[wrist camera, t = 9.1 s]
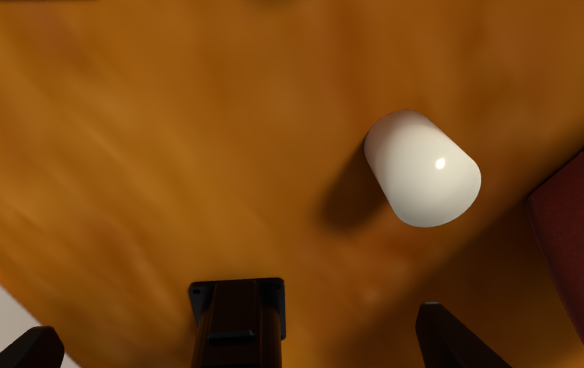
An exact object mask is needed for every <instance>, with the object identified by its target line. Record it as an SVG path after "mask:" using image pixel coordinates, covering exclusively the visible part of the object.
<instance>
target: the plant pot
mask: <svg viewBox="0 0 584 368" xmlns="http://www.w3.org/2000/svg"><path fill="white" fill-rule="evenodd" d="M525 205H526V211H527V215H528V218H529V222H530V225H531V228H532V230H533V233H534V236H535V239H536V241H537V244H538V247H539V250H540V252H541V254H542V257H543V259H544V262H545V264H546V267H547V269H548V271H549V274H550V276H551V279H552V281H553V283H554V285H555V287H556V290H557V292H558V294H559V296H560V298H561V301H562V303H563V305H564V307H565V309H566V311H567V313H568V315H569V317H570V319H571V321H572V323H573V325H574V327H575V329H576V331H577V333H578V335H579V337H580V339H581V341H582V342H583V344H584V151H583V152H581V153H580V154H579V155H578V156H577V157H575V158H574V159H573V160H572V161H571V162H569V163H568V164H567V165H566V166H565V167H563V168H562V169H561V170H560V171H558V172H557V173H556V174H555V175H554V176H552V177H551V178H550V179H549V180H548V181H546V182H545V183H544V184H543V185H542V186H540V187H539V188H538V189H537V190H536V191H534V192H533V193H532V194H531V195H530V196H529V198H528V200H527V202H526V204H525Z"/></svg>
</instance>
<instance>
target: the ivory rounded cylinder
mask: <svg viewBox="0 0 584 368" xmlns="http://www.w3.org/2000/svg"><path fill="white" fill-rule="evenodd" d="M364 153H365V157H366V159H367V161H368V163H369V165H370V167H371V169H372V171H373V173H374V175H375V177H376V179H377V180H378V182H379V184H380V186H381V188H382V190H383V192H384V194H385V196H386V198H387V199H388V201H389V203H390V205H391V207H392V209H393V211H394V213H395V214H396V216H397V217H398V218H399V219H400V220H402V221H403V222H405V223H407V224H409V225H412V226H416V227H434V226H438V225H442V224H445V223H447V222H449V221H451V220H453V219H455V218H457V217H458V216H460V215H461V214H462V213H464V212H465V211H466V210H467V209H468V208H469V207H470V205H471V204H472V203H473V202H474V200H475V198H476V197H477V195H478V192H479V189H480V185H481V174H480V170H479V168H478V166H477V165H476V163H475V162H474V161H473V160H472V159H471V158H470V157H469V156H468V155H467V154H466V153H465V152H463V151H462V150H461V149H460V148H459V147H458V146H457V145H456V144H455V143H454V142H453V141H452V140H451V139H449V138H448V137H447V136H446V135H445V134H444V133H443V132H442V131H441V130H440V129H439V128H438V127H437V126H435V125H434V124H433V123H432V122H431V121H430V120H429V119H428V118H427V117H426V116H424V115H423V114H421V113H419V112H416V111H413V110H399V111H395V112H392V113H389V114H387V115H385V116H384V117H382V118H381V119H379V120H378V121H377V122H376V123H375V124H374V125H373V126H372V128H371V129H370V131H369V132H368V134H367V136H366V140H365V144H364Z"/></svg>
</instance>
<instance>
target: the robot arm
mask: <svg viewBox="0 0 584 368" xmlns="http://www.w3.org/2000/svg"><path fill="white" fill-rule="evenodd" d="M196 289H198V290H196ZM189 293H190V297H191V302H192V306H193V310H194V314H195V318H196V323H197V327H198V330H197V336H196V341H195V346H194V352H193V357H192V362H191V368H282V355H281V341H282V340H284V339H285V338H286V321H285V289H284V280H283V279H281V278H261V279H243V280H225V281H207V282H195V283H192V284H191V286H190V290H189ZM415 328H416V334H417V338H418V341H419V345H420V349H421V352H422V356H423V360H424V363H425V367H426V368H512V367H511V366H510V365H509V364H507V363H506V362H505V361H504V360H503V359H502V358H501V357H500V356H498V355H497V354H496V353H495V352H494V351H493V350H492V349H491V348H490V347H488V346H487V345H486V344H485V343H484V342H483V341H482V340H481V339H479V338H478V337H477V336H476V335H475V334H474V333H473V332H472V331H470V330H469V329H468V328H467V327H466V326H465V325H464V324H463V323H461V322H460V321H459V320H458V319H457V318H456V317H455V316H454V315H452V314H451V313H450V312H449V311H448V310H447V309H446V308H445V307H443V306H442V305H441V304H440V303H438V302H425V303H422V304H421V305H420V308H419V312H418V316H417V320H416V324H415ZM63 357H64V345H63V343H62V341H61V340H60V338H59V336H58V334H57V333H56V331H55V329H54V328H53V327H51V326H37V327H33V328H31V329H29V330H28V331H27V332H25V333H24V334H23V335H21V336H20V337H19V338H18V339H16V340H15V341H14V342H13V343H12V344H10V345H9V346H8V347H7V348H5V349H4V350H3V351H2V352H0V368H60V367H61V364H62V361H63Z"/></svg>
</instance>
